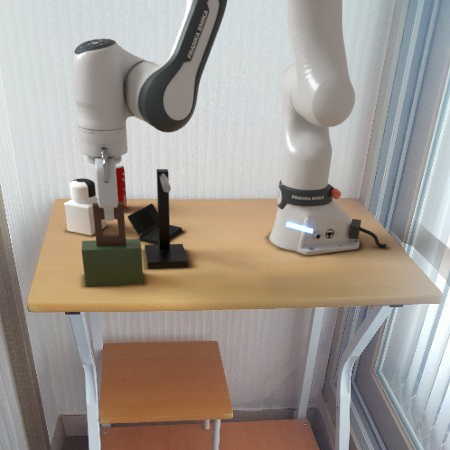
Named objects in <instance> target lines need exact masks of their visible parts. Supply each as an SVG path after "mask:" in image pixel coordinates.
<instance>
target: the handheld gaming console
mask: <svg viewBox="0 0 450 450" xmlns="http://www.w3.org/2000/svg"><path fill="white" fill-rule="evenodd" d="M127 219H128V221H129V222H130V224H131V226H132V227H133V229H134V231H135V232H136V234H137V235H138V237H139V238H138V239H140V242H141V241H142V242H146V243H149V244H152V245H159V232H158V209H156V207H155V205H154V204H153V203H149V204H148V205H146V206H144V207H142V208H140V209H139V210H137V211H134V212H133V213H131V214H129V215H127ZM169 226H170V239H172V238H174V237H176V236H177V235H179V234H180V233H182V231H183V227H181V226H177V225H172V224H169Z"/></svg>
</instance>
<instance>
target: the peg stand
mask: <svg viewBox="0 0 450 450" xmlns="http://www.w3.org/2000/svg"><path fill="white" fill-rule="evenodd" d="M171 188H172V187H171V185H170V181H169V170H168V168H157V169H156V194H157V195H156V197H157V199H156V200H157V212H158V232H159V245H158V244H144V254H145V260H146V265H147V269H148V270H149V269H150V270H152V269H174V268H188V267H189V261H188V258H187V254H186V250H185V247H184V244H183V243H171V238H170V226H169V225H170V192H171Z"/></svg>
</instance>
